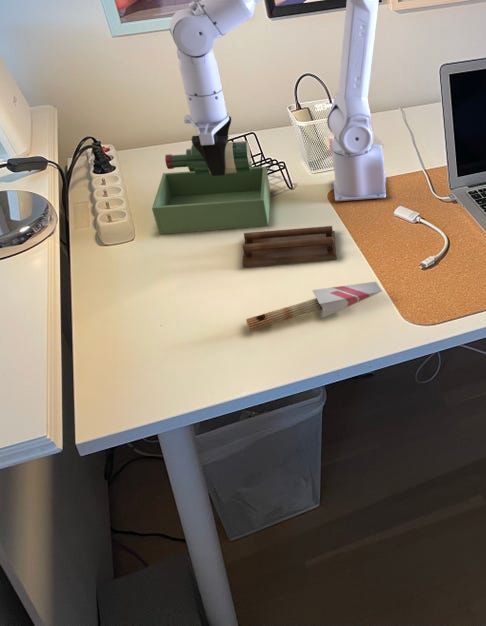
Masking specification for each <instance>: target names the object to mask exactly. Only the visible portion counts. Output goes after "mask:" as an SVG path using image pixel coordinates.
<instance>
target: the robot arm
mask: <svg viewBox="0 0 486 626" xmlns="http://www.w3.org/2000/svg"><path fill="white" fill-rule="evenodd" d="M262 1H263V0H199V1H198V2H195V1H194V0H193V1H191V2H189V3H188V7H189V8H187V9H186V8H183V9H180V10H177V11H176V12H175V13H174V14H173V15H172V17H171V19H170V22H169V28H168V30H169V33H170V35H171V36H172V40H173V42H174V44H175V46H176V49H177V50H176V55H177V59H178V60H179V61H178V67H179V71H180V77H181V81H182V85H183V89H184V92H185V93H184V94H185V98H186V102H187V105H188V110H189V114H185V115H184V116H183V122H184V124H190V125H192V127H193V128H194V129H195V131H196V132H197V133H198V135H192V137H191V145H193V146H194V147H195V148H196V149H197V150H198V151H199V152H200V154H201V155H202V157H203V158H204V160H205V162H206V164H207V166H208V168H209V171H210V172H211V174H212V176H221V175H225V169H226V165H225V148H226V144H227V142H229V132H230V131H229V130H230V127H231V123H232V116H230V115H229V113H228V111H227V106H226V101H225V97H224V91H223V86H222V80H221V75H220V71H219V65H218V61H217V59H216V57H215V54H214V46H215V42H216V40H217V39H221V38H223V36H225V35H227V34H229V33H230V32H232V31H233V30H234V29H236V28H237V27H239V26H240V25H242V24H244V23H245V22H247V21H248V20H250V19H251V18H253V17H254V15H255V9H256V6H257V4H258V3H260V2H262ZM379 1H380V0H346V6H345V17H344V24H343V25H344V26H343V35H342V37H343V38H342V46H341V47H342V50H341V59H340V70H339V81H338V92H337V93H336V94H335V96H333V104H332V107H331V109H330V110H329V112H328V113H327V117H326V125H327V127H328V131H330V132H331V133H332V134H333V140H332V141H331V146H330V147H331V153H332V154H331V155H332V164H333V173H334V174H333V175H334V180H333V181H332V182H333V183H332V184H333V192H334V193H333V194H334V201H335V202H347V201H349V202H350V201H359V200H360V201H361V200H362V201H363V200H373V199H375V200H376V199H385V198H386V197H387V193H386V191H387V189H386V183H387V175H386V173H385V163H384V153H383V146H382V145H381V144H374V132H373V129H372V126H371V118H372V115H371V110H370V104H369V100H368V97H369V89H370V80H371V72H372V62H373V56H374V55H373V53H374V45H375V37H376V27H377V20H378V10H379Z"/></svg>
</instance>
